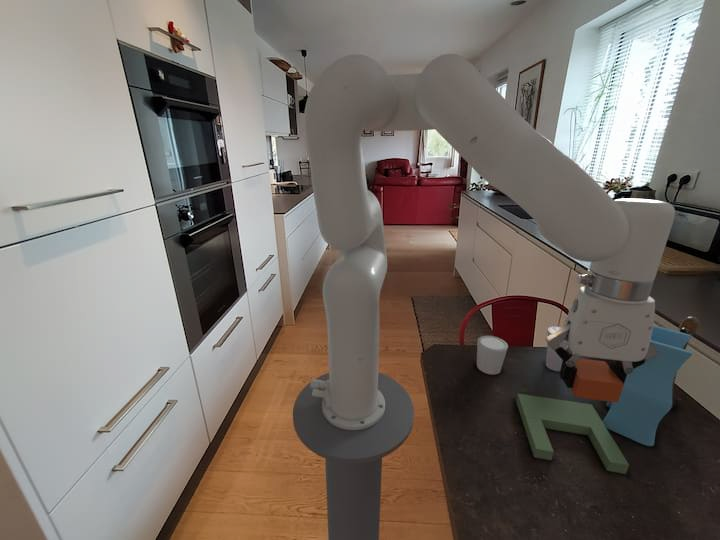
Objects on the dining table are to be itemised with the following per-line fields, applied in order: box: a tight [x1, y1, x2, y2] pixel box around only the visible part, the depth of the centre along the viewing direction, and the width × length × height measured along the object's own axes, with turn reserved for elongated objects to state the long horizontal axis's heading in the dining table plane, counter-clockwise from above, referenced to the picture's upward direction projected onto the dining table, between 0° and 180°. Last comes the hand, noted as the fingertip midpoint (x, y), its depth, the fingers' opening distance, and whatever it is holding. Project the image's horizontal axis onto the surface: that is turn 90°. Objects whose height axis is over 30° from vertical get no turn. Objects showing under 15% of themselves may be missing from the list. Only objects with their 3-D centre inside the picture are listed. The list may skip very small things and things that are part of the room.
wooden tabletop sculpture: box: [671, 316, 701, 409], centre depth 66 cm, size 6×5×20 cm
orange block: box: [569, 358, 624, 403], centre depth 53 cm, size 6×6×4 cm
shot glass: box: [476, 335, 509, 376], centre depth 79 cm, size 7×7×7 cm
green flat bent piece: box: [515, 393, 630, 475], centre depth 61 cm, size 14×14×2 cm
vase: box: [602, 325, 694, 447], centre depth 60 cm, size 8×8×20 cm
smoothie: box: [545, 316, 568, 372], centre depth 78 cm, size 6×6×14 cm
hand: (589, 384), depth 54 cm, fingers closed on orange block, 6 cm apart
